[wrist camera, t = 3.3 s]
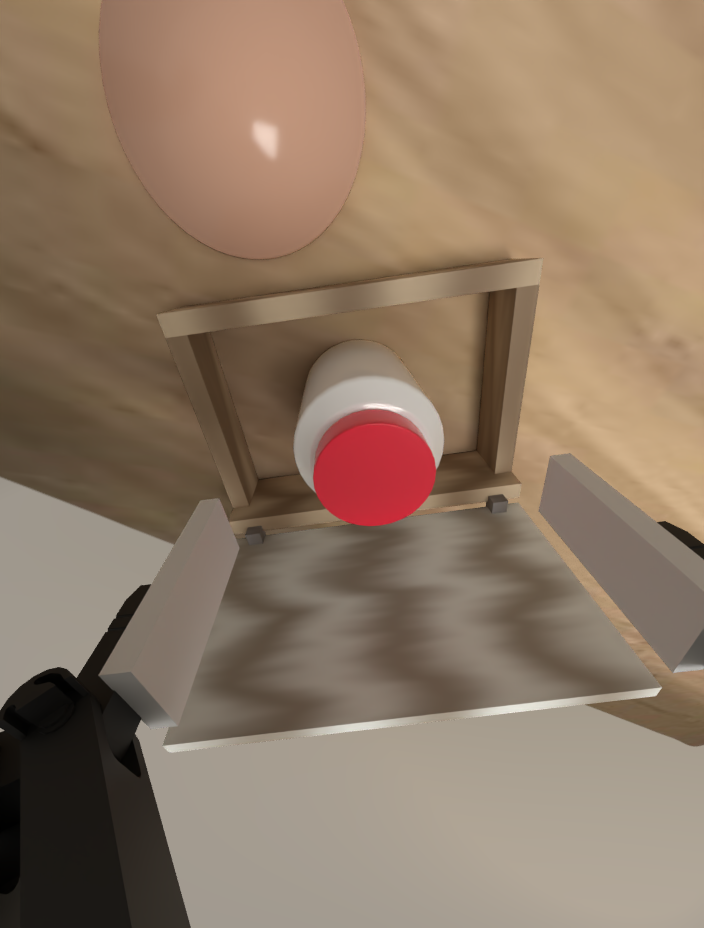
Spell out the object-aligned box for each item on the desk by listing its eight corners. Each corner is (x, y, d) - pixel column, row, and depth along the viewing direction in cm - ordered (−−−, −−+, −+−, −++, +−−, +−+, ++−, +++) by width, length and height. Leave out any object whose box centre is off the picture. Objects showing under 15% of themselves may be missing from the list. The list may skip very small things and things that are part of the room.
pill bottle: (316, 449, 26) (307, 553, 17) (293, 348, 22) (265, 412, 13) (413, 434, 26) (459, 532, 17) (408, 330, 22) (465, 381, 13)
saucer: (172, 273, 20) (167, 273, 19) (52, -68, 13) (37, -86, 13) (374, 243, 19) (376, 242, 19) (347, -119, 13) (348, -140, 12)
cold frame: (252, 503, 29) (169, 752, 14) (181, 306, 21) (-182, 413, 6) (488, 472, 28) (655, 695, 14) (511, 258, 20) (978, 248, 6)
